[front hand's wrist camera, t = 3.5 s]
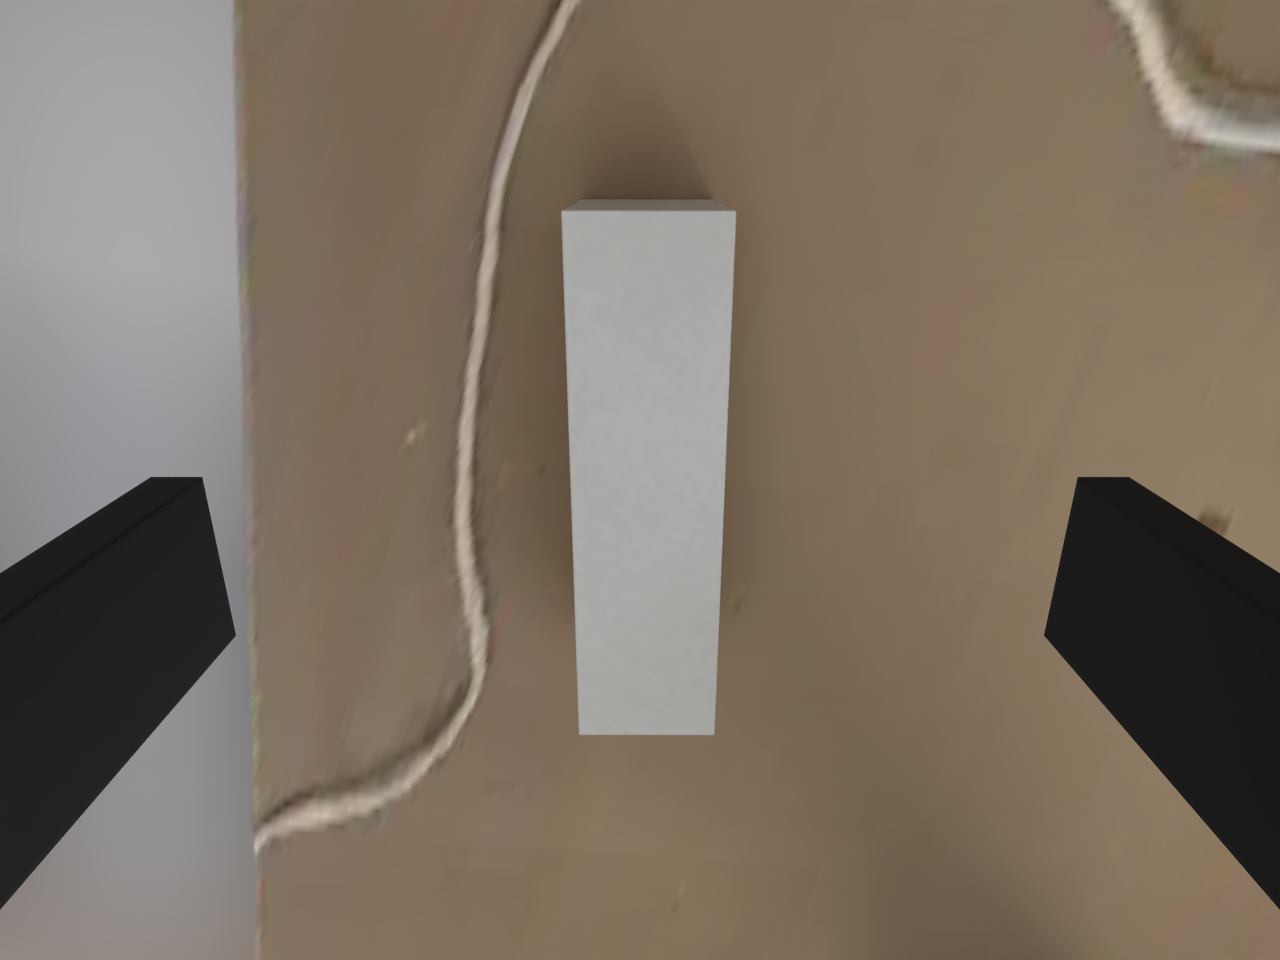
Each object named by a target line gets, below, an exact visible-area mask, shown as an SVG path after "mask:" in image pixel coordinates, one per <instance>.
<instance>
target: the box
mask: <svg viewBox="0 0 1280 960" xmlns="http://www.w3.org/2000/svg"><path fill="white" fill-rule="evenodd" d="M561 223H562V253H563V282H564V311H565V341H566V370H567V399H568V429H569V458H570V487H571V517H572V546H573V576H574V605H575V634H576V664H577V693H578V722H579V734H580V735H714V734H715V714H716V690H717V666H718V642H719V618H720V594H721V570H722V546H723V522H724V498H725V474H726V450H727V426H728V402H729V378H730V354H731V330H732V306H733V282H734V258H735V234H736V211H735V210H733V209H731V208H729V207H727V206H725V205H723V204H721V203H719V202H717V201H715V200H713V199H582V200H580V201H578V202H576V203H574V204H573V205H571V206H569V207H567V208H566V209H564V210H562V211H561Z"/></svg>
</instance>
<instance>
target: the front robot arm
mask: <svg viewBox="0 0 1280 960" xmlns="http://www.w3.org/2000/svg"><path fill="white" fill-rule="evenodd" d="M235 636H236V634H235V629H234V624H233V620H232V615H231V610H230V606H229V601H228V596H227V591H226V587H225V582H224V577H223V573H222V568H221V563H220V559H219V554H218V549H217V545H216V540H215V535H214V531H213V526H212V521H211V516H210V512H209V507H208V502H207V498H206V493H205V488H204V484H203V479H202V477H150V478H149V479H147V480H146V481H144V482H143V483H141V484H140V485H138V486H137V487H135V488H133V489H132V490H130V491H129V492H127V493H125V494H124V495H122V496H121V497H119V498H118V499H116V500H115V501H113V502H111V503H110V504H108V505H107V506H105V507H104V508H102V509H100V510H99V511H97V512H96V513H94V514H92V515H91V516H89V517H88V518H86V519H85V520H83V521H81V522H80V523H78V524H77V525H75V526H74V527H72V528H71V529H69V530H67V531H66V532H64V533H63V534H61V535H60V536H58V537H56V538H55V539H53V540H52V541H50V542H49V543H47V544H45V545H44V546H42V547H41V548H39V549H38V550H36V551H34V552H33V553H31V554H30V555H28V556H27V557H25V558H23V559H22V560H20V561H19V562H17V563H16V564H14V565H12V566H11V567H9V568H8V569H6V570H5V571H3V572H2V573H0V909H1V908H2V907H3V906H4V905H5V903H6V902H7V901H8V900H9V899H10V898H11V896H12V895H13V894H14V893H15V892H16V890H17V889H18V888H19V887H20V886H21V885H22V884H23V882H24V881H25V880H26V879H27V878H28V877H29V875H30V874H31V873H32V872H33V871H34V870H35V869H36V867H37V866H38V865H39V864H40V863H41V862H42V860H43V859H44V858H45V857H46V856H47V855H48V853H49V852H50V851H51V850H52V849H53V848H54V846H55V845H56V844H57V843H58V842H59V841H60V839H61V838H62V837H63V836H64V835H65V834H66V832H67V831H68V830H69V829H70V828H71V827H72V825H73V824H74V823H75V822H76V821H77V820H78V818H79V817H80V816H81V815H82V814H83V813H84V812H85V810H86V809H87V808H88V807H89V806H90V805H91V803H92V802H93V801H94V800H95V799H96V797H97V796H98V795H99V794H100V793H101V792H102V791H103V789H104V788H105V787H106V786H107V785H108V784H109V782H110V781H111V780H112V779H113V778H114V777H115V775H116V774H117V773H118V772H119V771H120V770H121V768H122V767H123V766H124V765H125V764H126V763H127V761H128V760H129V759H130V758H131V757H132V756H133V755H134V753H135V752H136V751H137V750H138V749H139V747H140V746H141V745H142V744H143V743H144V742H145V740H146V739H147V738H148V737H149V736H150V735H151V734H152V732H153V731H154V730H155V729H156V728H157V727H158V725H159V724H160V723H161V722H162V721H163V720H164V718H165V717H166V716H167V715H168V714H169V713H170V711H171V710H172V709H173V708H174V707H175V706H176V704H177V703H178V702H179V701H180V700H181V699H182V698H183V696H184V695H185V694H186V693H187V692H188V691H189V689H190V688H191V687H192V686H193V685H194V684H195V682H196V681H197V680H198V679H199V678H200V677H201V675H202V674H203V673H204V672H205V671H206V670H207V668H208V667H209V666H210V665H211V664H212V663H213V661H214V660H215V659H216V658H217V657H218V656H219V655H220V653H221V652H222V651H223V650H224V649H225V647H226V646H227V645H228V644H229V643H230V642H231V641H232V639H233V638H234V637H235ZM1044 636H1045V637H1046V638H1047V639H1048V641H1049V642H1050V643H1051V644H1052V645H1053V646H1054V648H1055V649H1056V650H1057V651H1058V652H1059V653H1060V655H1061V656H1062V657H1063V658H1064V659H1065V660H1066V661H1067V663H1068V664H1069V665H1070V666H1071V667H1072V668H1073V670H1074V671H1075V672H1076V673H1077V674H1078V675H1079V677H1080V678H1081V679H1082V680H1083V681H1084V682H1085V684H1086V685H1087V686H1088V687H1089V688H1090V689H1091V691H1092V692H1093V693H1094V694H1095V695H1096V696H1097V698H1098V699H1099V700H1100V701H1101V702H1102V703H1103V705H1104V706H1105V707H1106V708H1107V709H1108V710H1109V711H1110V713H1111V714H1112V715H1113V716H1114V717H1115V718H1116V720H1117V721H1118V722H1119V723H1120V724H1121V725H1122V727H1123V728H1124V729H1125V730H1126V731H1127V732H1128V734H1129V735H1130V736H1131V737H1132V738H1133V739H1134V741H1135V742H1136V743H1137V744H1138V745H1139V746H1140V748H1141V749H1142V750H1143V751H1144V752H1145V753H1146V755H1147V756H1148V757H1149V758H1150V759H1151V760H1152V762H1153V763H1154V764H1155V765H1156V766H1157V767H1158V768H1159V770H1160V771H1161V772H1162V773H1163V774H1164V775H1165V777H1166V778H1167V779H1168V780H1169V781H1170V782H1171V784H1172V785H1173V786H1174V787H1175V788H1176V789H1177V791H1178V792H1179V793H1180V794H1181V795H1182V796H1183V798H1184V799H1185V800H1186V801H1187V802H1188V803H1189V805H1190V806H1191V807H1192V808H1193V809H1194V810H1195V812H1196V813H1197V814H1198V815H1199V816H1200V817H1201V818H1202V820H1203V821H1204V822H1205V823H1206V824H1207V825H1208V827H1209V828H1210V829H1211V830H1212V831H1213V832H1214V834H1215V835H1216V836H1217V837H1218V838H1219V839H1220V841H1221V842H1222V843H1223V844H1224V845H1225V846H1226V848H1227V849H1228V850H1229V851H1230V852H1231V853H1232V855H1233V856H1234V857H1235V858H1236V859H1237V860H1238V862H1239V863H1240V864H1241V865H1242V866H1243V867H1244V869H1245V870H1246V871H1247V872H1248V873H1249V874H1250V875H1251V877H1252V878H1253V879H1254V880H1255V881H1256V882H1257V884H1258V885H1259V886H1260V887H1261V888H1262V889H1263V891H1264V892H1265V893H1266V894H1267V895H1268V896H1269V898H1270V899H1271V900H1272V901H1273V902H1274V903H1275V905H1276V906H1277V907H1278V908H1279V909H1280V573H1279V572H1277V571H1275V570H1274V569H1272V568H1271V567H1269V566H1268V565H1266V564H1264V563H1263V562H1261V561H1260V560H1258V559H1257V558H1255V557H1253V556H1252V555H1250V554H1249V553H1247V552H1246V551H1244V550H1242V549H1241V548H1239V547H1238V546H1236V545H1235V544H1233V543H1231V542H1230V541H1228V540H1227V539H1225V538H1224V537H1222V536H1220V535H1219V534H1217V533H1216V532H1214V531H1213V530H1211V529H1210V528H1208V527H1206V526H1205V525H1203V524H1202V523H1200V522H1199V521H1197V520H1195V519H1194V518H1192V517H1191V516H1189V515H1188V514H1186V513H1184V512H1183V511H1181V510H1180V509H1178V508H1177V507H1175V506H1173V505H1172V504H1170V503H1169V502H1167V501H1166V500H1164V499H1162V498H1161V497H1159V496H1158V495H1156V494H1155V493H1153V492H1151V491H1150V490H1148V489H1147V488H1145V487H1144V486H1142V485H1140V484H1139V483H1137V482H1136V481H1134V480H1133V479H1131V478H1130V477H1078V479H1077V484H1076V488H1075V493H1074V498H1073V502H1072V507H1071V512H1070V516H1069V521H1068V526H1067V530H1066V535H1065V540H1064V545H1063V549H1062V554H1061V559H1060V563H1059V568H1058V573H1057V577H1056V582H1055V587H1054V591H1053V596H1052V601H1051V606H1050V610H1049V615H1048V620H1047V624H1046V629H1045V634H1044Z"/></svg>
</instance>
